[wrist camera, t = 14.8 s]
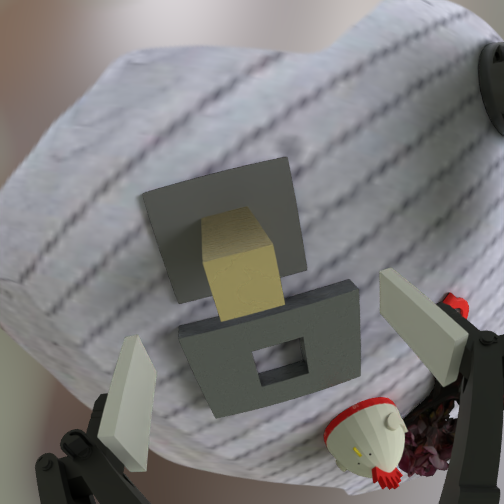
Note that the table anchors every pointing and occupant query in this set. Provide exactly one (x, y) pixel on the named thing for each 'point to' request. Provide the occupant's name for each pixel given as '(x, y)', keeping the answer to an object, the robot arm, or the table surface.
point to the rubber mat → (218, 201)
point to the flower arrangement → (431, 431)
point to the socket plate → (272, 333)
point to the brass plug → (240, 264)
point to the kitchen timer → (369, 440)
